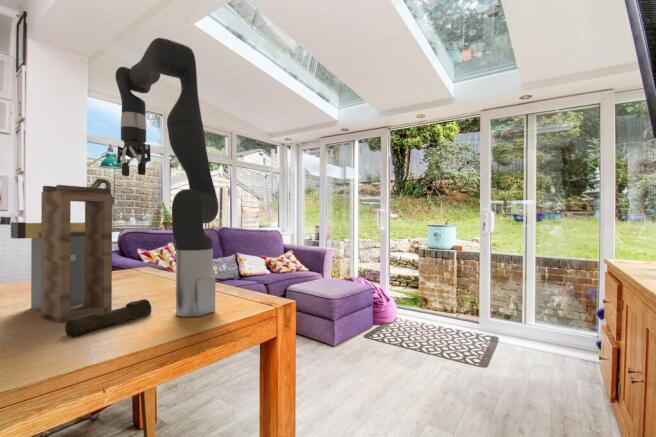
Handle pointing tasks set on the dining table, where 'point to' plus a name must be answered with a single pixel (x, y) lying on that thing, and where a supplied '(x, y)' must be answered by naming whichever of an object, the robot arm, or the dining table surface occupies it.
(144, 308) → the hand tool
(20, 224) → the rod
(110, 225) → the brown tall rectangular frame
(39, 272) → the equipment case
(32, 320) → the dining table surface
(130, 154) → the robot arm
